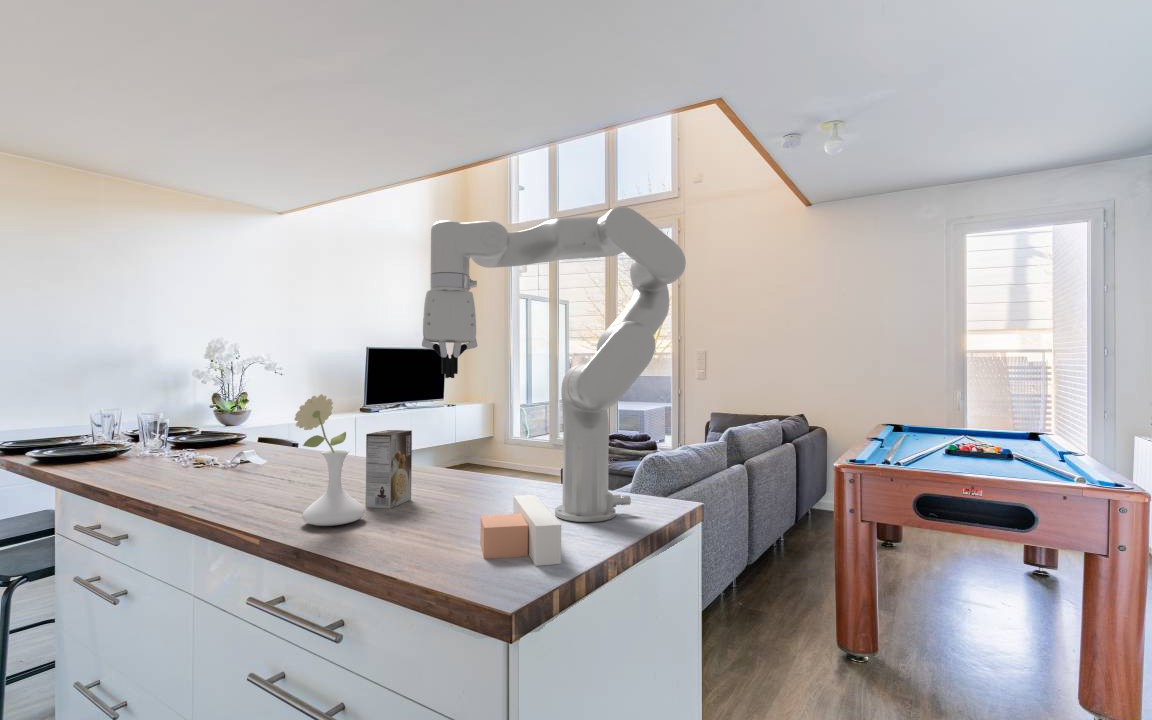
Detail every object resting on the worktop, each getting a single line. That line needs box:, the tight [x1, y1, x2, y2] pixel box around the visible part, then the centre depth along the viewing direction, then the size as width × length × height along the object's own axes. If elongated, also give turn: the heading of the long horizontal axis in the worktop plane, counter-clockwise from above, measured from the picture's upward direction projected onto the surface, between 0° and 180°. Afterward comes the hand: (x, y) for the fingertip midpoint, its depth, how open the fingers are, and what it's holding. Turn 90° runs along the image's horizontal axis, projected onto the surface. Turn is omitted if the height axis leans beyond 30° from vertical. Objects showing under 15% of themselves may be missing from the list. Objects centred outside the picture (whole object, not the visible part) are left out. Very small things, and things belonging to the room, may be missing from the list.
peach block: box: [479, 513, 529, 559], centre depth 93 cm, size 7×8×5 cm
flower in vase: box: [293, 393, 366, 527], centre depth 108 cm, size 13×11×25 cm
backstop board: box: [512, 494, 562, 567], centre depth 96 cm, size 4×22×6 cm, turn 15°
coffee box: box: [365, 429, 413, 510], centre depth 125 cm, size 9×6×16 cm
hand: (449, 377), depth 110 cm, fingers closed
